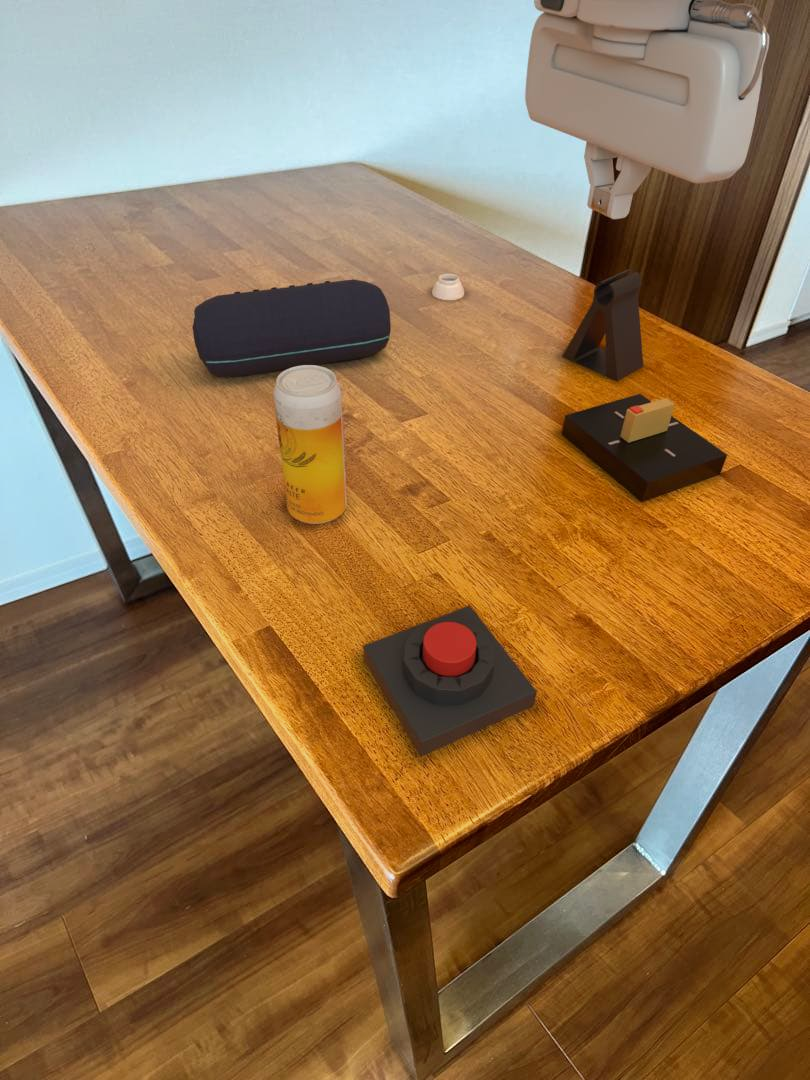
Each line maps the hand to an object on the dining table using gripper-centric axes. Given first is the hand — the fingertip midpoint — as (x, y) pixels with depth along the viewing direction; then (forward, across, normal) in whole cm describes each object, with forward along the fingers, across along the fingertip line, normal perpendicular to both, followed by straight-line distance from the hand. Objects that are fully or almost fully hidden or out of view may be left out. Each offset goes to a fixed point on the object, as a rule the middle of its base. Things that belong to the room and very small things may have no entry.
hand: (607, 213), depth 56 cm
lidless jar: (+29, +50, -16) cm, 60 cm away
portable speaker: (+29, +40, +13) cm, 51 cm away
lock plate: (+29, +3, -14) cm, 32 cm away
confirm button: (+26, -15, +21) cm, 36 cm away
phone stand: (+29, +22, -24) cm, 44 cm away
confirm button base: (+29, -15, +21) cm, 39 cm away
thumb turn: (+26, +3, -14) cm, 30 cm away
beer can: (+29, +10, +22) cm, 38 cm away
